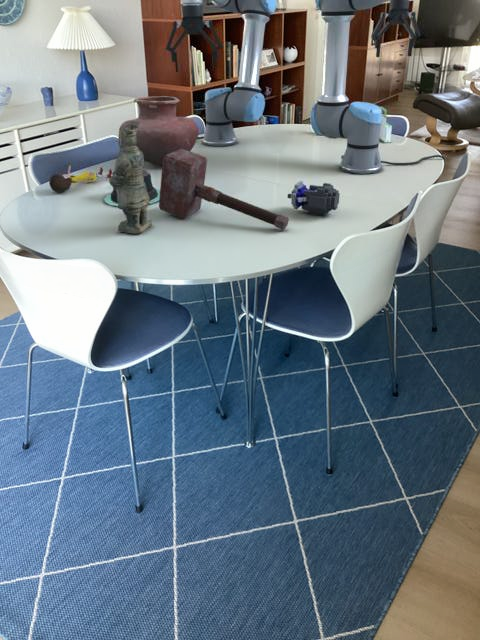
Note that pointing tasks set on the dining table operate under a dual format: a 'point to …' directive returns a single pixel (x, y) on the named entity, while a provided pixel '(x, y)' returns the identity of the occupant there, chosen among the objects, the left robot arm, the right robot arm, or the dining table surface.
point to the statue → (131, 182)
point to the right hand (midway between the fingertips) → (393, 56)
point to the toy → (315, 198)
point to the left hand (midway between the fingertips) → (195, 71)
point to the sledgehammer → (200, 190)
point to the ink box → (385, 128)
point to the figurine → (74, 179)
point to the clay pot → (162, 128)
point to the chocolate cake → (152, 192)
